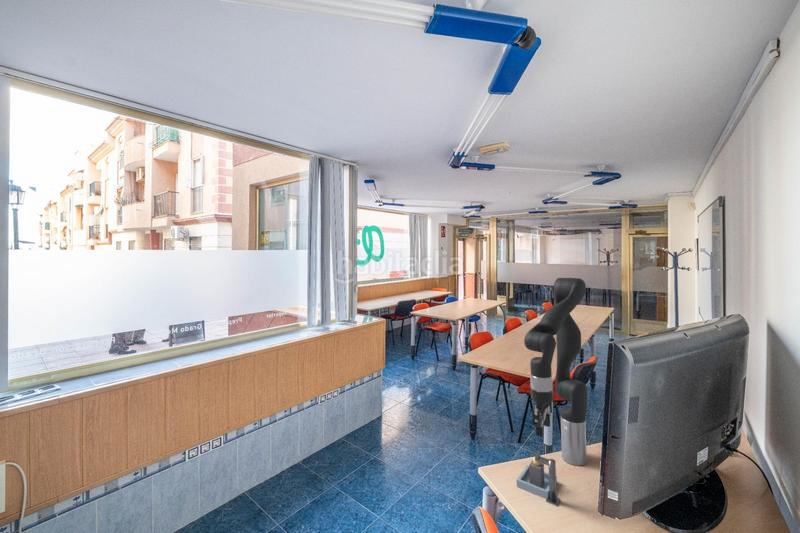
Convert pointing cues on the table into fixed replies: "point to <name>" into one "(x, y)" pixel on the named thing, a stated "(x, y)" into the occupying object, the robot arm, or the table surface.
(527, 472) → the bay
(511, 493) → the table surface
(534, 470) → the plug block
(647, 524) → the table surface
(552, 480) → the hook post
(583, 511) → the table surface
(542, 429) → the robot arm
